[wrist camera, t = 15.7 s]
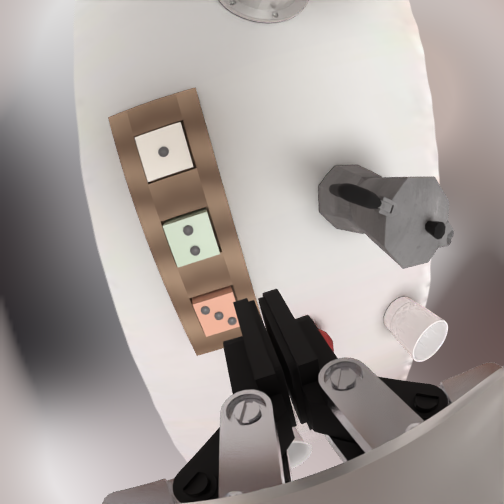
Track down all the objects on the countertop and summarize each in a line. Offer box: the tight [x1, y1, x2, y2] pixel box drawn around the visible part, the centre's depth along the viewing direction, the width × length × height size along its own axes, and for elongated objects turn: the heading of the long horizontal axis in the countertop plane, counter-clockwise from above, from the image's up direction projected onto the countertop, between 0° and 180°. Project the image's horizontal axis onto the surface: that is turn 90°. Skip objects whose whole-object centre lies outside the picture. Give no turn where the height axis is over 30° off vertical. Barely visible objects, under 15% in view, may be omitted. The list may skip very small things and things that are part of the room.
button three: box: [192, 285, 240, 337], centre depth 36 cm, size 5×5×3 cm
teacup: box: [287, 427, 312, 469], centre depth 45 cm, size 12×15×10 cm
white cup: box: [384, 297, 448, 362], centre depth 43 cm, size 8×8×10 cm
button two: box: [163, 207, 220, 267], centre depth 33 cm, size 5×5×3 cm
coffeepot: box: [318, 165, 454, 269], centre depth 29 cm, size 15×9×18 cm, turn 73°
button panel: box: [108, 88, 261, 356], centre depth 34 cm, size 32×10×3 cm, turn 15°
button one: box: [135, 122, 193, 182], centre depth 29 cm, size 5×5×3 cm
